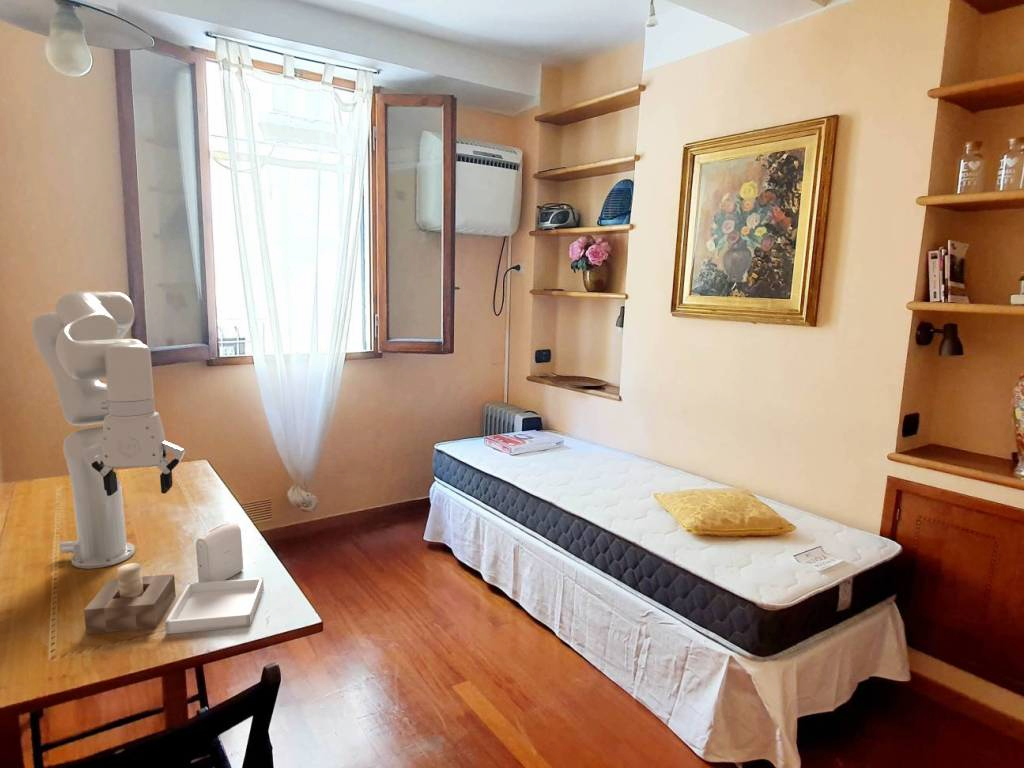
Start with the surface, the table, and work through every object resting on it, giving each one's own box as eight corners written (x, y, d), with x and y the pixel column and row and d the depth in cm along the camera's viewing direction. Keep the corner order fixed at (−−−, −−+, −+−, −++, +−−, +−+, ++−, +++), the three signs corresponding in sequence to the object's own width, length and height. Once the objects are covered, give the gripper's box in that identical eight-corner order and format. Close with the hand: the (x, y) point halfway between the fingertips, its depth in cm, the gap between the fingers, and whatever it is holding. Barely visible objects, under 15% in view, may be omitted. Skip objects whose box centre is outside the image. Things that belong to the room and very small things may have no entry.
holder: (86, 633, 116) (83, 609, 115) (112, 601, 128) (110, 578, 127) (156, 627, 119) (154, 604, 118) (175, 596, 130) (174, 574, 129)
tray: (166, 633, 117) (165, 621, 116) (189, 594, 131) (188, 583, 131) (250, 626, 120) (249, 614, 119) (263, 588, 134) (263, 577, 134)
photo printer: (210, 590, 133) (206, 537, 131) (195, 586, 134) (191, 533, 132) (246, 570, 142) (243, 519, 140) (232, 566, 144) (229, 516, 142)
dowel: (118, 620, 121) (113, 573, 119) (126, 609, 125) (122, 563, 123) (140, 618, 122) (136, 571, 120) (148, 607, 125) (144, 562, 124)
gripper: (72, 412, 113) (81, 501, 116) (174, 410, 116) (180, 497, 119) (91, 404, 120) (99, 487, 123) (187, 402, 123) (192, 484, 126)
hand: (139, 492), depth 121 cm, fingers open, 9 cm apart
